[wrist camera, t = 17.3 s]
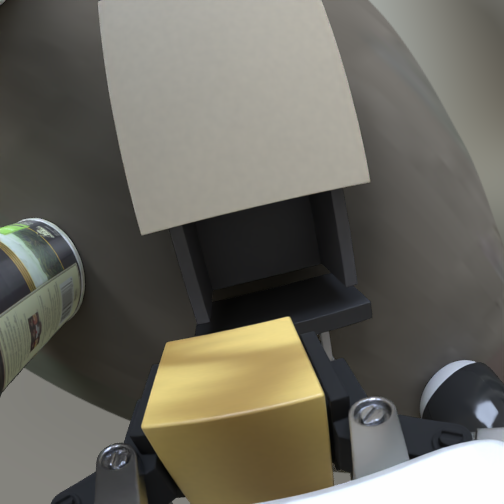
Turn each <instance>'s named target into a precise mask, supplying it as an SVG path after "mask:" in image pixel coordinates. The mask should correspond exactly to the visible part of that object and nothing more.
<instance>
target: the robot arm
mask: <svg viewBox="0 0 504 504" xmlns="http://www.w3.org/2000/svg"><path fill="white" fill-rule="evenodd" d="M5 1H6V0H0V5H1V4H2V3H3V2H5ZM300 340H301V342H302V345H303V347H304V349H305V351H306V353H307V356H308V358H309V360H310V362H311V365H312V367H313V369H314V371H315V374H316V376H317V378H318V380H319V383H320V385H321V387H322V389H323V392H324V394H325V401H326V409H327V418H328V427H329V436H330V446H331V456H332V463H334V464H335V467H336V470H340V469H341V470H344V471H347V472H350V475H351V481H349V482H346V483H343V484H339V485H336V486H332V487H329V488H325V489H321V490H317V491H313V492H309V493H305V494H301V495H297V496H292V497H287V498H282V499H277V500H272V501H267V502H261V503H255V504H504V427H501V428H477V431H476V432H470V431H469V430H468V429H467V428H466V427H464V426H462V425H459V424H455V423H448V422H441V421H434V420H427V419H421V418H415V417H410V416H404V415H399V414H398V413H397V409H396V407H395V405H394V403H393V402H392V401H391V400H389V399H387V398H384V397H379V396H372V397H367V395H366V393H365V392H364V390H363V389H362V387H361V385H360V384H359V382H358V380H357V379H356V377H355V376H354V374H353V372H352V371H351V369H350V367H349V366H348V364H347V363H346V361H345V360H344V358H340V359H337V360H333V361H330V359H329V357H328V355H327V354H326V352H325V350H324V348H323V346H322V345H321V343H320V341H319V339H318V337H317V335H316V334H315V332H314V331H312V332H308V333H305V334H301V335H300ZM158 367H159V364H155V365H152V368H151V371H150V374H149V377H148V379H147V382H146V386H145V389H144V392H143V395H142V398H141V399H139V400H138V401H137V403H136V406H135V409H134V412H133V416H132V419H131V422H130V425H129V428H128V431H127V434H126V437H125V441H124V443H115V444H113V445H110V446H108V447H106V448H104V450H102V451H101V452H100V454H99V455H98V458H97V462H96V472H94V473H93V474H91V475H90V476H88V477H86V478H85V479H83V480H82V481H80V482H78V483H76V484H75V485H73V486H71V487H69V488H68V489H66V490H64V491H63V492H61V493H59V494H58V495H57V496H55V498H54V499H53V500H52V502H51V504H173V503H172V501H173V500H174V499H175V498H180V497H185V495H184V494H183V493H182V491H181V490H180V488H179V487H178V485H177V484H176V483H175V481H174V480H173V478H172V477H171V475H170V474H169V472H168V471H167V469H166V468H165V466H164V465H163V463H162V461H161V460H160V458H159V457H158V455H157V454H156V452H155V450H154V449H153V447H152V445H151V444H150V442H149V440H148V439H147V437H146V435H145V434H144V432H143V430H142V428H141V425H142V421H143V418H144V414H145V411H146V407H147V404H148V400H149V397H150V394H151V390H152V387H153V383H154V380H155V377H156V374H157V370H158Z"/></svg>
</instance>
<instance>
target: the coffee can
mask: <svg viewBox="0 0 504 504" xmlns="http://www.w3.org/2000/svg"><path fill="white" fill-rule="evenodd" d="M84 290H85V276H84V270H83V266H82V261H81V259H80V256H79V254H78V252H77V250H76V248H75V246H74V244H73V243H72V241H71V240H70V239H69V237H68V236H67V235H66V234H65V233H64V232H63V231H62V230H61V229H60V228H59V227H57V226H56V225H55V224H53V223H51V222H49V221H46V220H43V219H38V218H29V219H24V220H22V221H19V222H18V223H15V224H11V225H8V226H5V227H2V228H0V396H1V394H2V392H3V391H4V390H5V389H6V387H7V386H8V385H9V384H10V383H11V382H12V381H13V380H14V379H15V377H16V376H17V375H18V374H19V373H20V372H21V371H22V369H23V368H24V367H25V366H26V365H27V364H28V363H29V361H30V360H31V359H32V358H33V357H34V356H35V355H36V354H37V352H38V351H39V350H40V349H41V348H42V347H43V346H44V345H45V344H46V343H47V342H48V341H49V340H50V339H51V338H52V336H53V335H54V334H55V333H56V332H57V331H58V330H59V329H60V328H61V327H62V326H63V325H64V324H65V323H66V322H67V321H68V320H69V319H71V318H72V317H73V316H74V315H75V314H76V312H77V311H78V309H79V308H80V305H81V304H82V300H83V296H84Z"/></svg>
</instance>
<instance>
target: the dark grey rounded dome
mask: <svg viewBox="0 0 504 504" xmlns="http://www.w3.org/2000/svg"><path fill="white" fill-rule="evenodd" d="M420 414H421V418H422V419H427V420H434V421H441V422H448V423H455V424H459V425H462V426H464V427H466V428H467V429H468V430H469V431H470V432H476V431H477V428H501V427H504V384H503V383H502V381H501V380H500V379H499V377H498V376H497V375H496V374H495V372H494V371H493V370H492V369H491V368H490V367H488V366H487V365H486V364H484V363H481V362H474V361H469V360H461V361H456V362H453V363H450V364H448V365H447V366H445V367H443V368H442V369H440V370H439V371H438V372H437V373H436V374H435V375H434V376H433V377H432V378H431V379H430V381H429V382H428V384H427V385H426V387H425V389H424V391H423V394H422V397H421V401H420Z"/></svg>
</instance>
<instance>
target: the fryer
mask: <svg viewBox="0 0 504 504" xmlns="http://www.w3.org/2000/svg"><path fill="white" fill-rule="evenodd" d="M98 9H99V20H100V30H101V39H102V47H103V55H104V62H105V70H106V76H107V83H108V89H109V95H110V101H111V106H112V112H113V117H114V123H115V128H116V133H117V138H118V142H119V147H120V152H121V156H122V161H123V165H124V170H125V174H126V178H127V182H128V186H129V190H130V194H131V198H132V202H133V206H134V210H135V214H136V218H137V221H138V225H139V228H140V232H141V235H146V234H150V233H154V232H157V231H161V230H165V229H169V228H172V227H176V226H180V225H184V224H188V223H192V222H196V221H200V220H204V219H208V218H212V217H216V216H220V215H224V214H228V213H232V212H236V211H240V210H245V209H249V208H253V207H257V206H262V205H266V204H270V203H275V202H279V201H283V200H288V199H292V198H297V197H302V196H306V195H311V194H315V193H320V192H325V191H329V190H334V189H339V188H344V187H349V186H354V185H359V184H364V183H369V182H370V177H369V171H368V166H367V161H366V156H365V151H364V146H363V142H362V137H361V132H360V128H359V124H358V119H357V115H356V111H355V107H354V103H353V99H352V95H351V92H350V88H349V84H348V81H347V77H346V74H345V70H344V67H343V63H342V60H341V57H340V53H339V50H338V47H337V44H336V41H335V38H334V35H333V32H332V29H331V26H330V23H329V20H328V17H327V14H326V12H325V9H324V6H323V4H322V1H321V0H102V1H99V2H98Z"/></svg>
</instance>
